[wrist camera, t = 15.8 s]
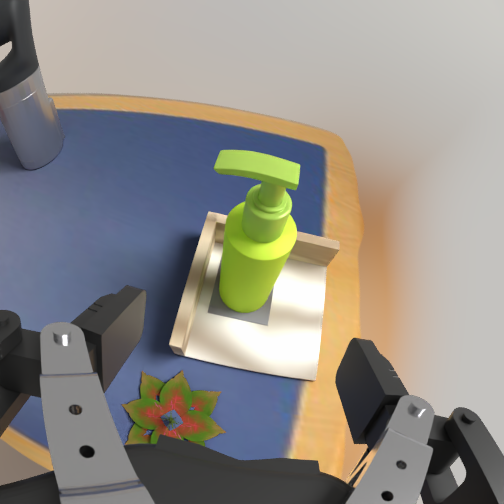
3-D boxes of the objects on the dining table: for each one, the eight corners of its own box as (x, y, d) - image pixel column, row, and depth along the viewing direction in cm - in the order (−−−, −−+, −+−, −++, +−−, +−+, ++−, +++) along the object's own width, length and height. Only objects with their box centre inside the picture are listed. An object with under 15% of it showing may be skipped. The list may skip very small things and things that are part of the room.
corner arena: (208, 234, 40) (208, 211, 35) (325, 260, 40) (339, 241, 36) (174, 353, 31) (169, 344, 27) (314, 380, 32) (330, 375, 28)
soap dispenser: (217, 260, 37) (228, 127, 20) (271, 273, 37) (324, 150, 20) (205, 304, 34) (204, 186, 17) (264, 317, 34) (322, 214, 17)
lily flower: (217, 480, 25) (218, 490, 21) (111, 450, 25) (97, 455, 21) (237, 381, 31) (241, 378, 27) (134, 355, 31) (123, 347, 27)
